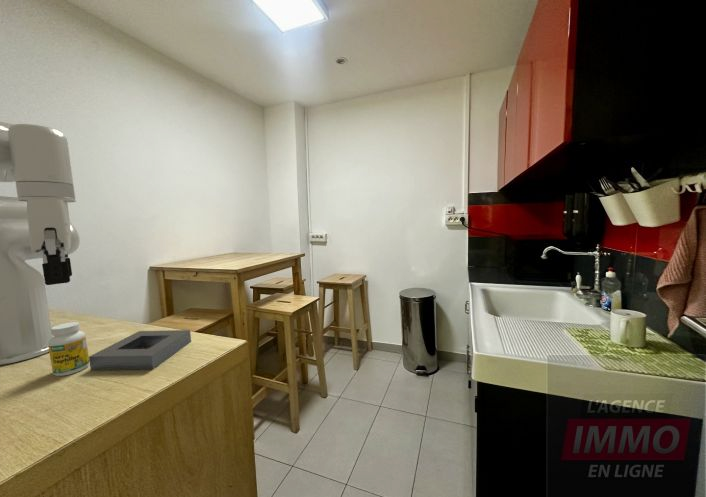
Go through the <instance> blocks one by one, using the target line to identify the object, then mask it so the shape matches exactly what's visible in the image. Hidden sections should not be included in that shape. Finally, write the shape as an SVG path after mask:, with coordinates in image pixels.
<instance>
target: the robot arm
mask: <svg viewBox="0 0 706 497" xmlns="http://www.w3.org/2000/svg"><path fill="white" fill-rule="evenodd" d="M68 143H69V142H68V138H67V136H66V135H65V134H64V133H63V132H62V131H59V130H58V129H54V128H51V127H47V126H44V125H38V124H32V123H31V124H29V123H17V124H16V123H15V124H13V123H8V122H4V121H0V183H15V189H16V195H17V197H16V196H5V195H4V196H2V195H0V366H2V365H8V364H12V363H17V362H22V361H27V360H30V359H33V358H35V357H36V358H37V357H40V356H42V355H45V354H47V353H50V352H49V346H48V342H49V340H50V339H51V338H53V337H54V336H53V335H52V334H51V328H52V324H51V317H50V311H49V305H48V296H47V291H46V290H47V289H46V286H51V285H59V284H60V285H61V284H68V283H70V282H71V277H72V276H73V270H72V265H71V264H72V263H71V258H70V257H69V255H71V254H73V253H75V252H76V251H77V250H78V249H79V246H80V244H81V242H80V236H79V233H78V231H77V229H76V227H75V226H74V225H73V223H71V220H70V212H69V205H68V204H69V203H76V201H77V200H76V192H75V186H74V181H73V172H72V166H71V158H70V157H71V156H70V151H69V144H68ZM37 259H42V264H41V265H42V266H41V267H42V272H43V275H42V273H41V272H40V271H38V269H36V268H34V267H33V266H31V264H30V265H29V264H28V263H27V262H26V261H27V260H37Z"/></svg>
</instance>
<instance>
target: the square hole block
mask: <svg viewBox="0 0 706 497" xmlns="http://www.w3.org/2000/svg"><path fill="white" fill-rule="evenodd" d="M191 342H192V336H191V329H180V330H178V329H177V330H176V329H174V330H169V329H168V330H139V331H137V332H134V333H133V334H130V335H129V336H127V337H125V338H123V339H121V340H119V341H117V342H115V343H113V344H111V345H109V346H107V347H105V348H104V349H101V350H100V351H98V352H95V353H93V354H92V355H90V356H89V362H90V363H89V367H90V372H91V371H93V372H94V371H95V372H96V371H137V370H138V371H139V370H140V371H141V370H145V371H146V370H154V369H156V368H157V367H159V366H160V365H161V364H163V363H164V362H165V361H166V360H168V359H170V357H172V356H173V355H175V354H176V353H178V352H179V351H181V349H183V348H184V347H185V346H187V345H188V344H190V343H191Z"/></svg>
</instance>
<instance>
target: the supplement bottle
mask: <svg viewBox="0 0 706 497" xmlns="http://www.w3.org/2000/svg"><path fill="white" fill-rule="evenodd" d="M80 328H81V325H80V323H79V322H78V321H70V322H65V323H61V324H58V325H55V326H53V327H52V326H51V334H52V337H53V338H51V339H50V340H49V342H48V346H49V352H48V353H49V358H50V364H51V369H52V374H53V375H54V376H57V377H63V376H69V375H73V374H76V373H79V372H81V371H82V370H84V369H86V368H88V367H89V366H90V361H89V349H88V343H87V336H86V332H84V331H82V330H80Z"/></svg>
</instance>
